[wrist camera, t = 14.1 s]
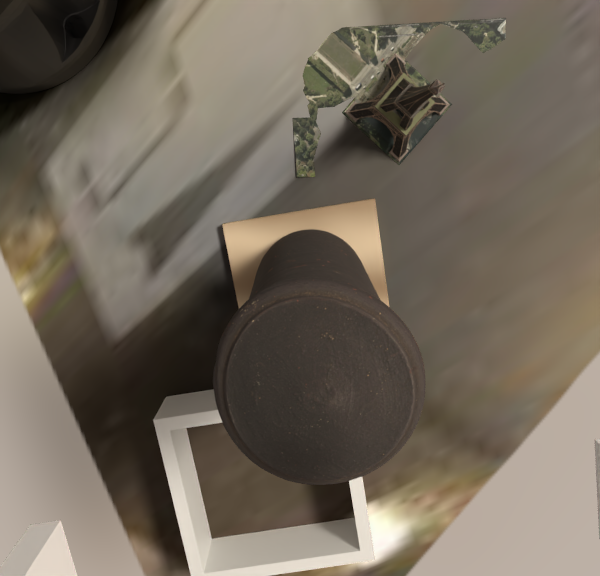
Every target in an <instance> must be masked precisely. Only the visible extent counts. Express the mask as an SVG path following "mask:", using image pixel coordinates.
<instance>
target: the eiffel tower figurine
mask: <svg viewBox="0 0 600 576" xmlns="http://www.w3.org/2000/svg"><path fill="white" fill-rule="evenodd" d="M439 24H443V25H445V26H448V27H451V28H455V29H458V30H461V31H463V32H464V33H465V34H466V35H467V36H468V37H469V38H470V39H471V40H472V42H473V43H474V44H475V45H476V46H477V47H478V48H479V50H480V51H482V52H483V53H484V52H486V51H488V50H490V49H492V48H493V47H495V46H496V45H498V44H499V43H500V42H502V41H503V40H505V37H506V18H498V19H482V20H463V21H445V22H429V23H413V24H397V25H380V26H362V27H344V28H341V29H339V30H338V31H336V32H333V33H331V34H330V35H329V36H328V38H327V39H326V40H325V41H324V42H323V43H322V45H321V46H320V47H319V49H318V50H317V51H316V52H315V53H314V54H313V55H312V56H311V57H309V58H308V62H307V64H306V67H305V69H304V73H303V79H304V83H305V87H304V90H303V91H304V93H305V95H306V97H307V99H308V101H309V102H310V103H309V104H308V109H309V113H310V118H293V129H294V142H295V155H296V170H297V177H315V171H314V162H313V159H314V155H315V151H316V148H317V144H318V141H319V137H320V135H321V133H320V130H319V128H318V125H317V123H316V119H317V111H318V108H324V107H335V106H336V105H338V104H340V103H342V102H344V101H346V100H348V99H350V98H353V97H355V96H356V97H355V98H354V99H353V101H352V102H351V103H350V104H349V105H348V106H347V108H346V109H345V110H344V111H343V112H342V113H343V114H344V115H345V116H346V117H347V118H348V119H349V120H350V121H352V122H353V123H354V124H355V125H356V126H357V127H358V128H359V129H360V130H361V131H362V132H363V133H365V134H366V135H367V136H368V137H369V138H370V139H371V140H372V141H373V142H374V143H375V144H376V145H378V146H379V147H380V148H381V149H382V150H383V151H384V152H385V153H386V154H387V155H388V156H389V157H391V158H392V159H393V160H394V161H395V162H396V163H397V164H398V165H400V164H401V162H402V161H403V160H404V159H405V158H406V157H407V156H408V154H409V153H410V152H411V151H412V150H413V149H414V147H415V146H416V145H417V144H418V143H419V142H420V141H421V139H422V138H423V137H424V136H425V135H426V134H427V133H428V131H429V130H430V129H431V128H432V127H433V126H434V124H435V123H436V122H437V121H438V120H439V119H440V118H441V116H442V115H443V114H444V113H445V112H446V111H447V109H448V108H449V107H450V106H451V105H452V104H451V103H450V102H449V101H448V100H447V99H446V98H445V97H444V96H443V95H442V94H441V93H440V92H441V91H442V90H443V89H444V87H445V86H444V84H445V83H443V84H442V83H441V82H440V81H439V80H437V79H436V80H435V81H434V82H433V83H432V84H430V83H429V82H428V81H427V80H426V79H425V78H424V77H423V76H422V75H420V74H419V73H418V72H417V71H416V70H415V69H414V68H413V67H412V66H411V65H410V64H409V63H408V62H407V61H406V58H407V56H408V54H409V53H410V51H411V50H412V49H413V48H414V47H415V45H416V44H417V43H418V42H419V41H420V40H421V39H422V38H423V37H424V36H425V35H426V33H427V32H428V31H429V30H431V29H432V28H434V27H436V26H437V25H439Z"/></svg>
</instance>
